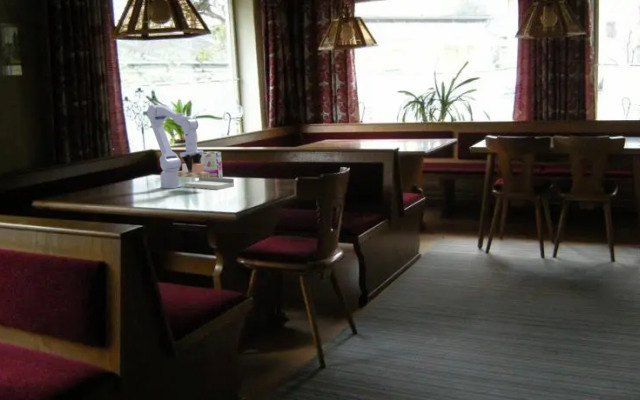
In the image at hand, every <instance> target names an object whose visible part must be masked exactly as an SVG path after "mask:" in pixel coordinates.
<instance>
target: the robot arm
mask: <svg viewBox="0 0 640 400" xmlns="http://www.w3.org/2000/svg"><path fill="white" fill-rule="evenodd" d="M146 114H147V117H148V119H149V121H150V122H149V123H150V125H151V128H152V131H153V134H154V136H155V138H156V141H157V144H158V147H159V150H160V153H161V156H160V157H159V163H160V165H159V166H160V168H161V170H162V171H161V172H160V186H159V188H160V189H161V188H163V189H177V188H182V187H183V186H184V185H182V184H181V185H180V177H178V176H177V172H178V171H180V169H181V168H182V161H181V159H180V158H179V157H181V158H182V160H183V161H184V164H186V166H187V169H188V170H192V163H197V164H200V159H201V157H202V155H200V154H203V152H204V149H198V138H197V129H198V128H199V122H198V120H197V119H196V118H190V117H189V116H187V115H185V114H184V113H183V112H176V111H174V110H173V109H171V108H170V106H169V105H167V104H160V105H159V104H158V105H149V106H148V108H147V111H146ZM167 117H168V118H171V119H172V120H173V122H174V123H175V124H177V126H180V127H181V129H182V130H183V134H184V140H185V144H184V145H185V151H182V152H179V156H178V153H176V152H174V151H173V150H172V147H171V144H170V142H169V140H168V137H167V134H166V131H165V128H164V126H163V123H164V122H165V121H166V119H167Z"/></svg>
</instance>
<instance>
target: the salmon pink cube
mask: <svg viewBox="0 0 640 400" xmlns="http://www.w3.org/2000/svg"><path fill="white" fill-rule="evenodd" d="M192 172H194V173H200V172H204V170H203V164H201V163H199V164H192Z"/></svg>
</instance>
